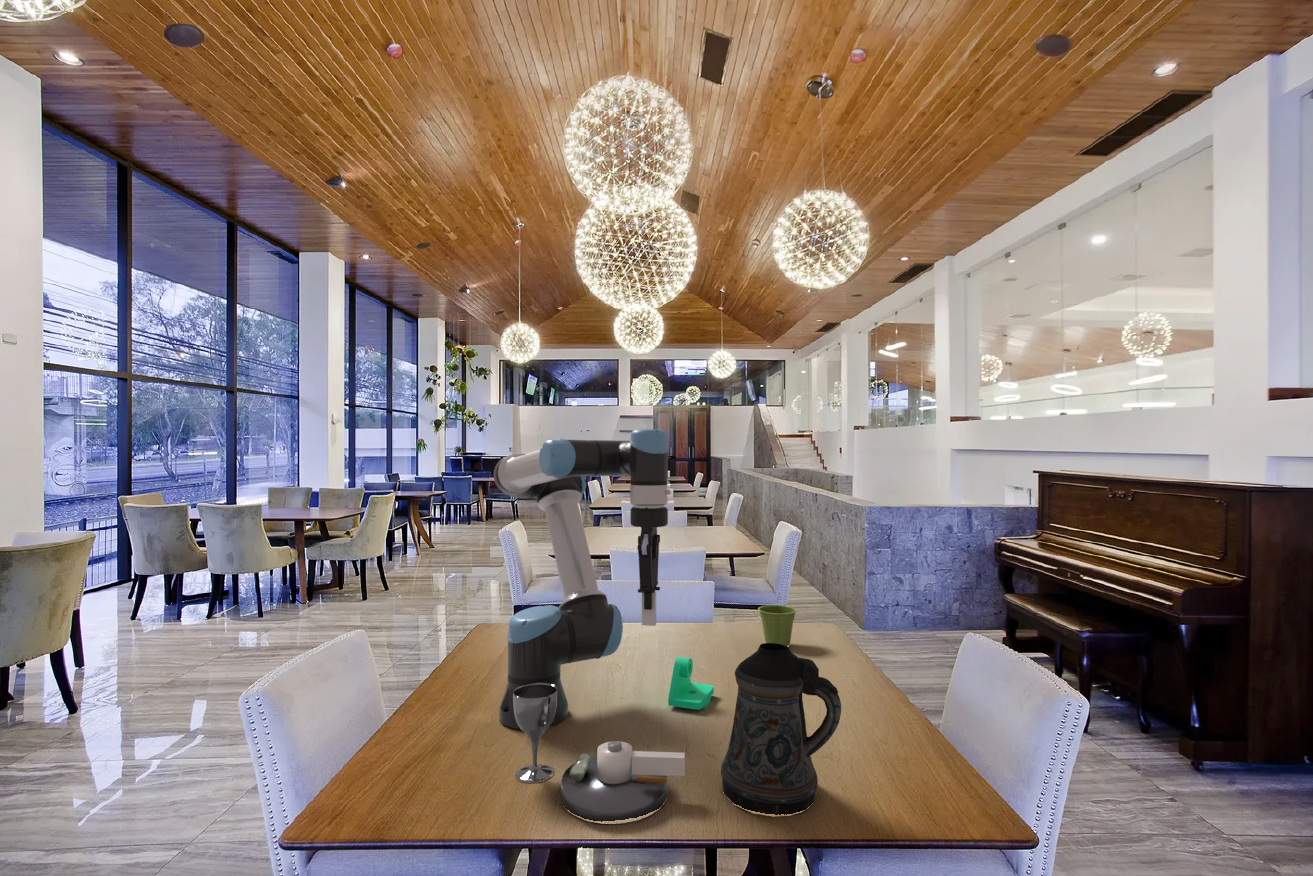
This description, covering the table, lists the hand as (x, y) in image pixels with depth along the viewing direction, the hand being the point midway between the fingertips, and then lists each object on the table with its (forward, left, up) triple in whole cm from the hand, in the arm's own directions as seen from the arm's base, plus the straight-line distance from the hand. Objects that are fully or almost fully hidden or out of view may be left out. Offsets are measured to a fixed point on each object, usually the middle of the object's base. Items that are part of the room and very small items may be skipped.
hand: (649, 624), depth 127 cm
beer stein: (+25, -13, -25) cm, 37 cm away
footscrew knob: (+1, -18, -21) cm, 28 cm away
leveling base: (-3, -18, -24) cm, 30 cm away
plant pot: (+28, +75, -25) cm, 84 cm away
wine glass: (-19, -13, -25) cm, 34 cm away
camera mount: (+6, +26, -25) cm, 36 cm away
